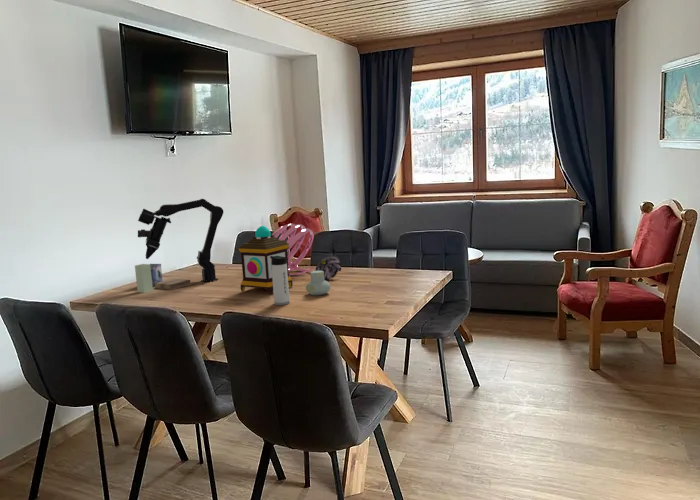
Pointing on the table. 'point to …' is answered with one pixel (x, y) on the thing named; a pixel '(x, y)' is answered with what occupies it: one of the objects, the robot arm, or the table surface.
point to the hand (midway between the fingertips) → (146, 257)
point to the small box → (156, 273)
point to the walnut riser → (172, 284)
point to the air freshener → (317, 284)
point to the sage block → (143, 278)
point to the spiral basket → (291, 241)
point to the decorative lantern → (261, 259)
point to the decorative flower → (329, 267)
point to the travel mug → (280, 280)
